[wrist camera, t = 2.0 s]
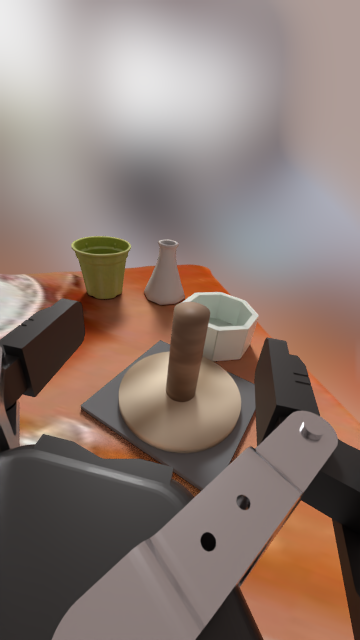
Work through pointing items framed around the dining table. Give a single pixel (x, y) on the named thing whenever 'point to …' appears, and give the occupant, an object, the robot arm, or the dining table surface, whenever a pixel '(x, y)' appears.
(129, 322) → the dining table surface
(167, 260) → the flask
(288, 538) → the dining table surface
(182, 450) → the lid
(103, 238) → the plant pot
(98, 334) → the dining table surface
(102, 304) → the dining table surface
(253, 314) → the bowl
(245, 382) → the mat
